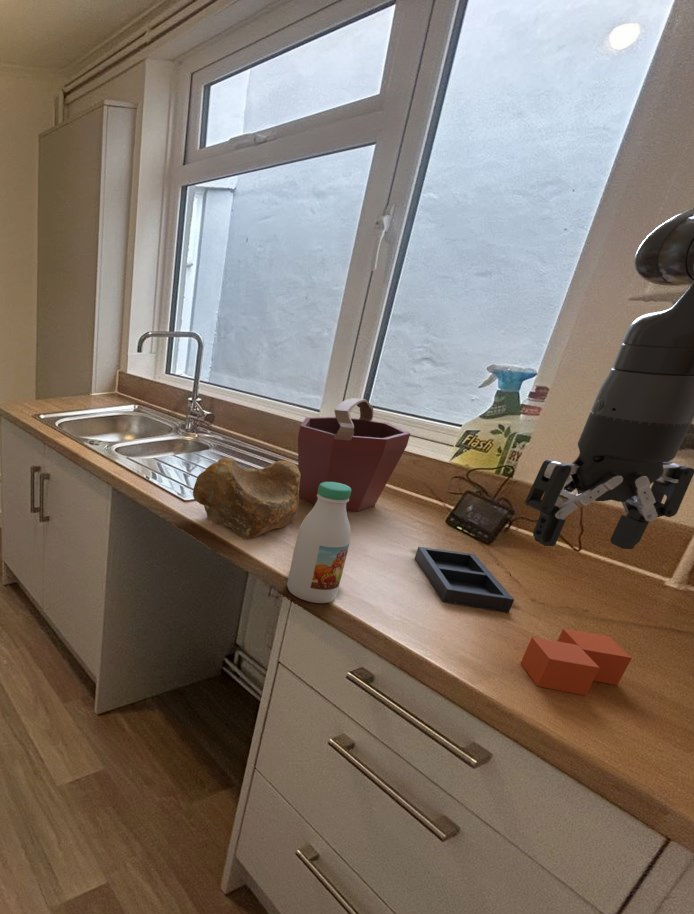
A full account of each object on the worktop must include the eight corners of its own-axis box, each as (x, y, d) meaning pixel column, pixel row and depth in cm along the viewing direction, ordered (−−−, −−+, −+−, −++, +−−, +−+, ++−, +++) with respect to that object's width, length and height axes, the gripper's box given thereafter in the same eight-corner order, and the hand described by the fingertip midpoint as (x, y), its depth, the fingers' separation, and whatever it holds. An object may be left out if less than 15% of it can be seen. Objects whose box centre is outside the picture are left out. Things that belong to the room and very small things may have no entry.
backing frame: (470, 565, 100) (474, 553, 99) (509, 612, 86) (514, 599, 85) (414, 557, 104) (418, 546, 103) (442, 602, 89) (447, 589, 88)
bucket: (348, 523, 119) (375, 414, 109) (262, 493, 136) (280, 397, 127) (404, 502, 130) (433, 401, 121) (318, 477, 148) (338, 388, 138)
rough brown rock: (211, 550, 109) (227, 485, 102) (182, 513, 124) (193, 453, 117) (316, 547, 111) (338, 483, 104) (275, 511, 126) (291, 453, 119)
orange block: (596, 662, 74) (609, 636, 73) (617, 685, 70) (632, 657, 68) (550, 654, 76) (562, 628, 74) (569, 676, 72) (582, 649, 70)
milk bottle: (287, 599, 90) (311, 490, 83) (284, 578, 97) (306, 475, 89) (339, 608, 87) (368, 496, 80) (332, 585, 94) (358, 480, 86)
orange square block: (565, 671, 73) (578, 644, 71) (585, 695, 68) (600, 667, 67) (520, 663, 74) (531, 636, 73) (537, 686, 70) (549, 658, 68)
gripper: (600, 420, 55) (543, 557, 61) (754, 421, 53) (679, 562, 60) (541, 405, 62) (495, 530, 68) (677, 406, 60) (617, 533, 67)
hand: (582, 544), depth 64 cm, fingers open, 8 cm apart
